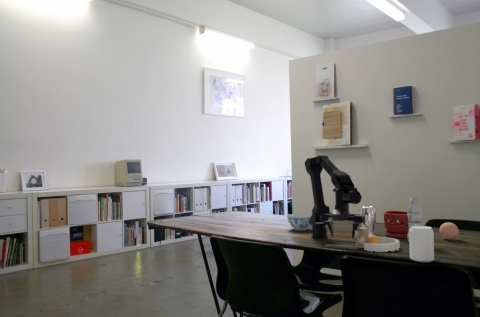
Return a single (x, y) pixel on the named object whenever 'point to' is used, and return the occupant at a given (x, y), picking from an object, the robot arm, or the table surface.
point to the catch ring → (383, 245)
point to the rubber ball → (373, 239)
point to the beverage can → (421, 243)
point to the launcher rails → (342, 245)
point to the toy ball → (449, 231)
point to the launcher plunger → (361, 237)
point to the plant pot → (396, 224)
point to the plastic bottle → (414, 214)
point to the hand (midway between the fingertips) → (342, 237)
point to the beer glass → (369, 218)
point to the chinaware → (299, 221)
